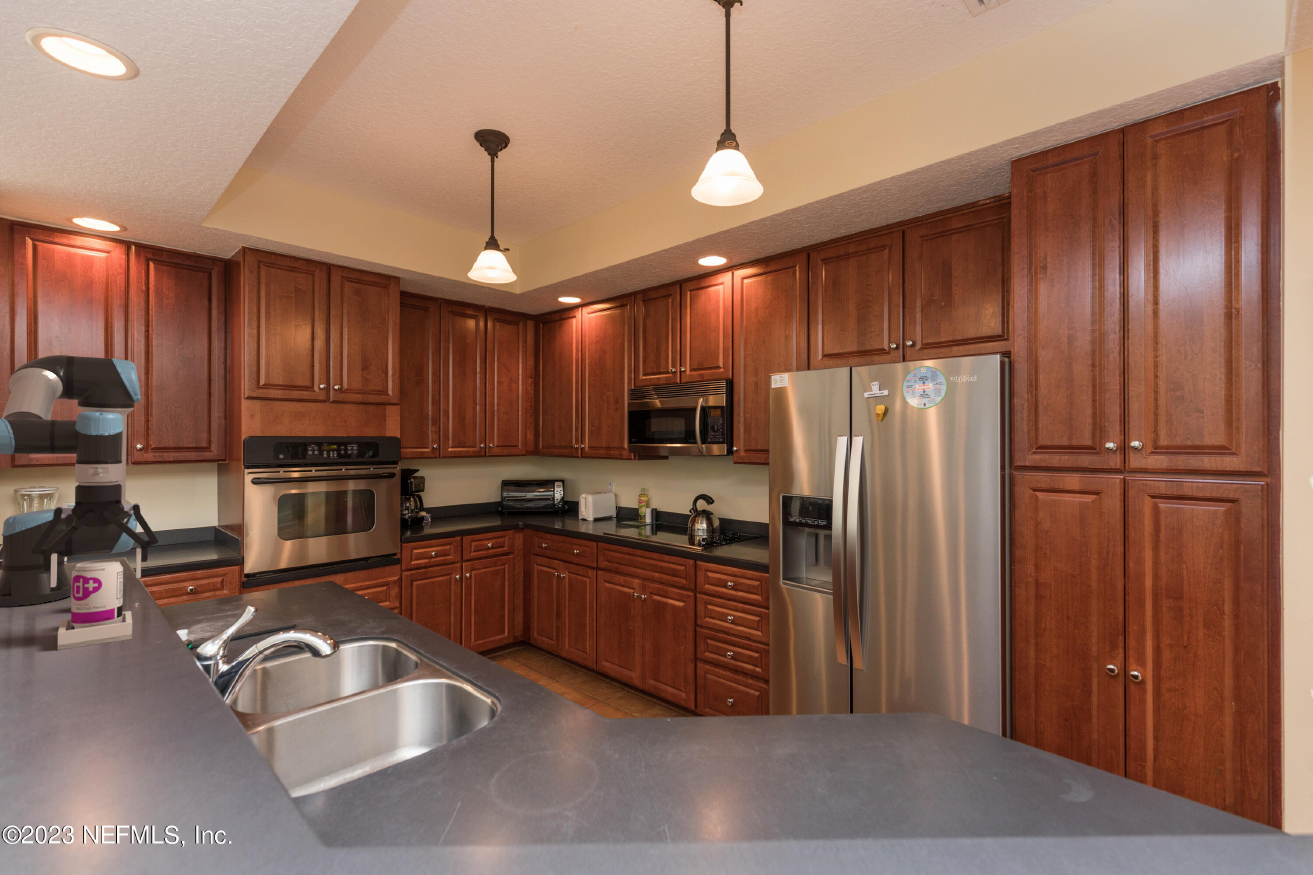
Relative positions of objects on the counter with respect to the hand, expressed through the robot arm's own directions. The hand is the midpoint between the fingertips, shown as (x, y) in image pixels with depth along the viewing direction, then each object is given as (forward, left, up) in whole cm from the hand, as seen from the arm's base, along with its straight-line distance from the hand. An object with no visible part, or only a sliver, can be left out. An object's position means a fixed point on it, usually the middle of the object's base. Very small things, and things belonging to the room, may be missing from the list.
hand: (97, 581), depth 134 cm
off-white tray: (0, 0, -12) cm, 12 cm away
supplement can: (0, 0, -11) cm, 11 cm away
